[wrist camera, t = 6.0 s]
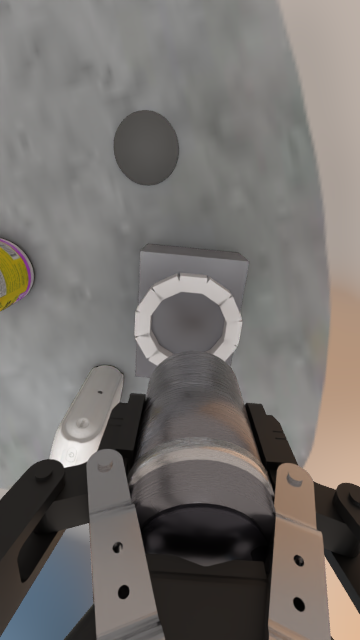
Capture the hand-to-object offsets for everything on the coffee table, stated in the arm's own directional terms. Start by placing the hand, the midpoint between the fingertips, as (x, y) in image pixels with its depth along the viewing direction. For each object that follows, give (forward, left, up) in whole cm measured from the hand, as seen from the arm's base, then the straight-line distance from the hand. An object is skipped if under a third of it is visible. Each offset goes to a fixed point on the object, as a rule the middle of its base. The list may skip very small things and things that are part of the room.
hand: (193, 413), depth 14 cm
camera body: (0, 0, -17) cm, 17 cm away
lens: (0, 0, -2) cm, 2 cm away
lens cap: (-5, +14, -18) cm, 23 cm away
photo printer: (-9, -13, -17) cm, 24 cm away
